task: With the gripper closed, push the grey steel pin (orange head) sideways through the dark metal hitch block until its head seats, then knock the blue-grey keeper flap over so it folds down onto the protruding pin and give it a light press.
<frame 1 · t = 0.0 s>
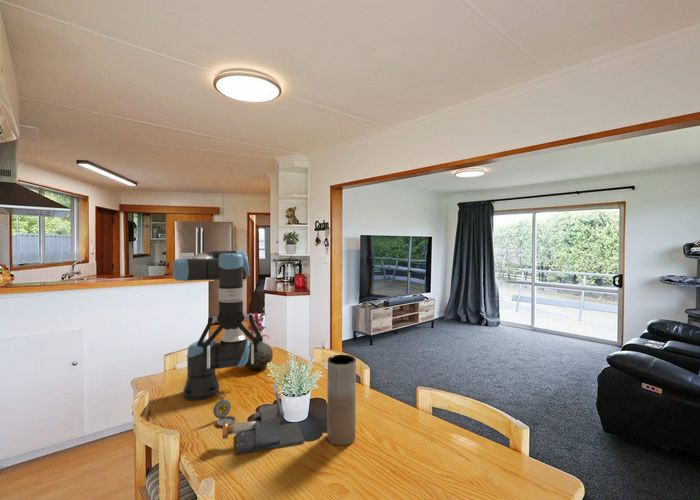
hand: (230, 365, 111), 28 cm above the table, fingers open, 13 cm apart
keeper: (277, 399, 118), point 13 cm above the table, hinge at -15.0°
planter: (341, 438, 119), on the table
pin: (246, 426, 115), point 5 cm above the table, slide at -8.0 cm
vase: (257, 368, 186), on the table
hitch block: (266, 439, 117), on the table
pocket watch: (225, 422, 129), on the table
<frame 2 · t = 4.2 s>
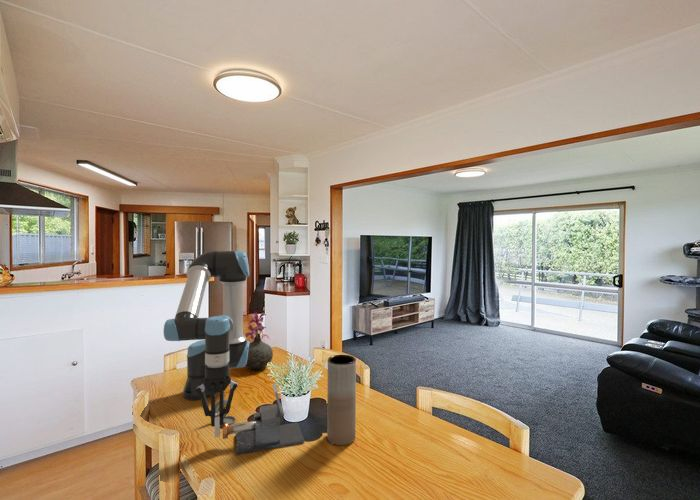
hand: (217, 434, 112), 4 cm above the table, fingers closed
pin: (246, 426, 115), point 6 cm above the table, slide at -7.9 cm, touching gripper
everything else where it was.
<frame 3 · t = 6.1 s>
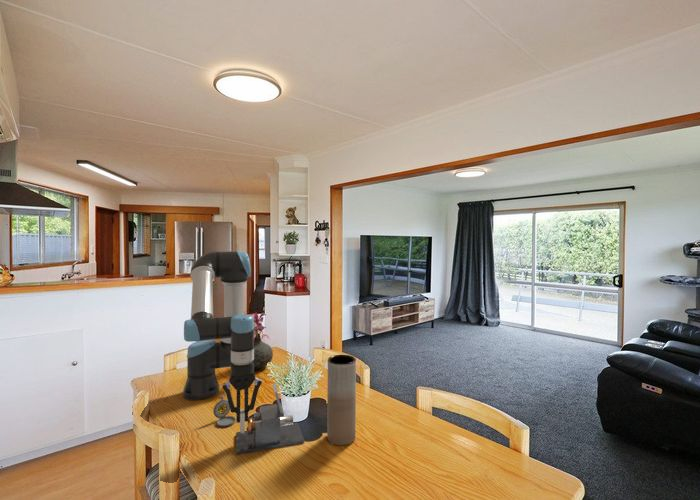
hand: (242, 430, 115), 4 cm above the table, fingers closed
pin: (270, 423, 118), point 5 cm above the table, slide at 0.0 cm, touching gripper
everything else where it was.
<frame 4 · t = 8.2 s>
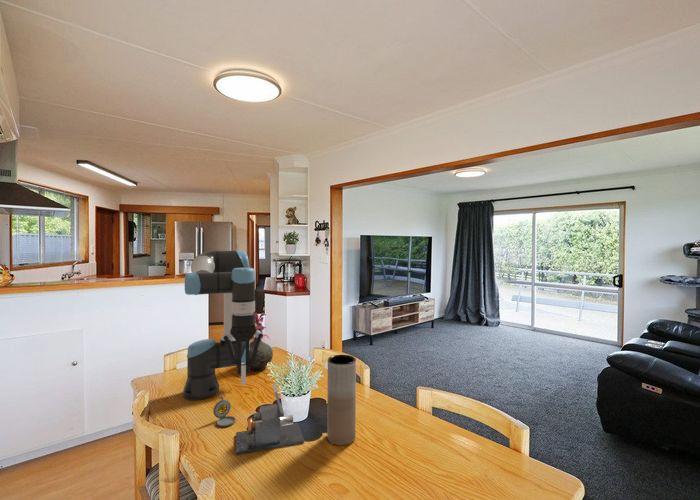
hand: (243, 383, 114), 21 cm above the table, fingers closed
pin: (270, 423, 118), point 5 cm above the table, slide at 0.0 cm
everything else where it was.
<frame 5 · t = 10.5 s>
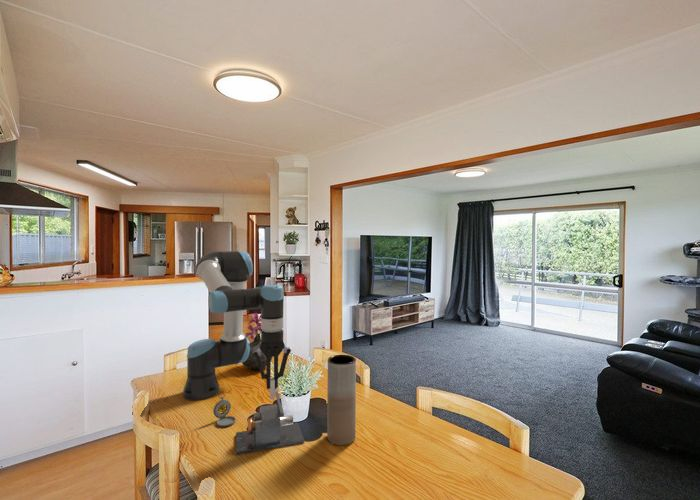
hand: (272, 397, 118), 15 cm above the table, fingers closed
keeper: (278, 399, 118), point 13 cm above the table, hinge at -13.1°, touching gripper
everything else where it was.
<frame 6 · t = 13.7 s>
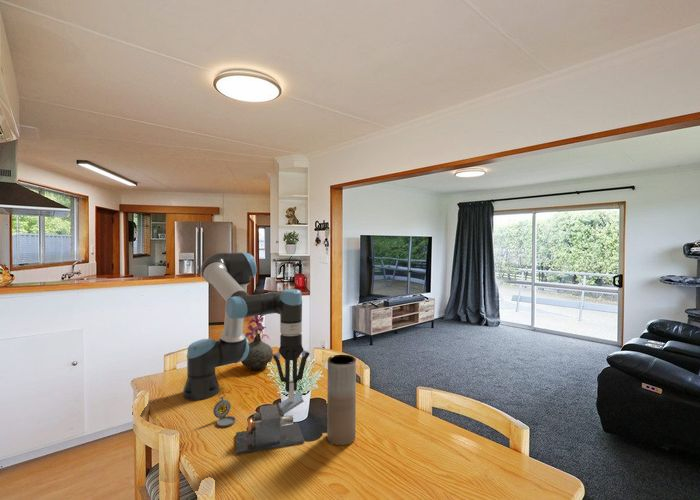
hand: (291, 399, 120), 13 cm above the table, fingers closed
keeper: (290, 403, 120), point 11 cm above the table, hinge at 63.8°, touching gripper
everything else where it was.
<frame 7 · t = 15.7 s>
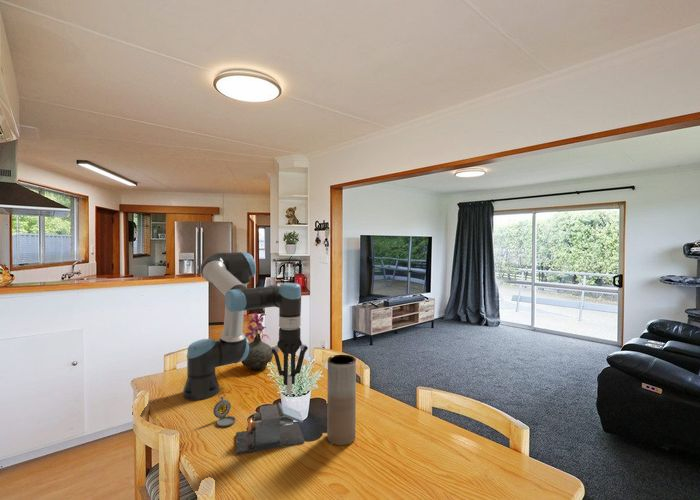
hand: (288, 393, 120), 15 cm above the table, fingers closed
keeper: (290, 413, 120), point 8 cm above the table, hinge at 119.2°, touching pin
pin: (270, 423, 118), point 5 cm above the table, slide at 0.0 cm, touching keeper
everything else where it was.
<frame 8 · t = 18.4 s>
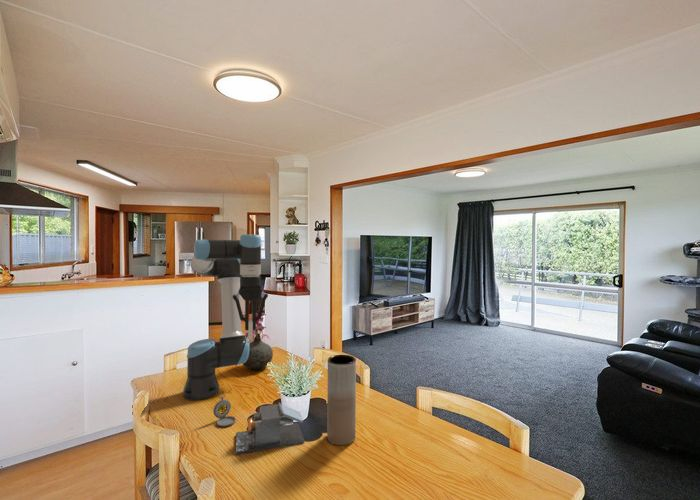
hand: (250, 338, 127), 32 cm above the table, fingers closed
nothing on the table moved.
at the end: pin slide at 0.0 cm; keeper at +119° (first picture: -15°) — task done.
